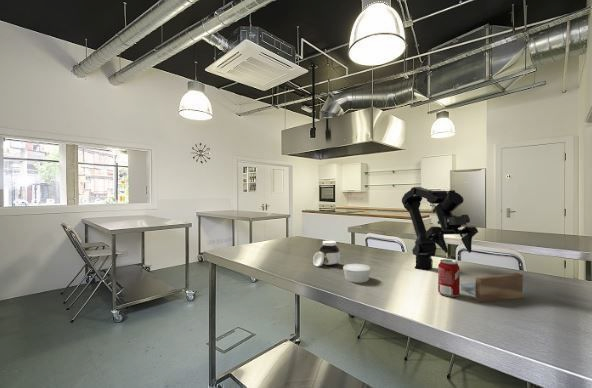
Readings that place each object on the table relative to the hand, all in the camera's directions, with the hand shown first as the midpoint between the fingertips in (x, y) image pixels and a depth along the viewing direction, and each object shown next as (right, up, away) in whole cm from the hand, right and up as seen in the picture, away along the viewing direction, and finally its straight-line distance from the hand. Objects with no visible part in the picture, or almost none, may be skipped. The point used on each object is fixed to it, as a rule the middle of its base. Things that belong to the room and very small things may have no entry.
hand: (458, 252), depth 105 cm
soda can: (-8, -14, -7) cm, 17 cm away
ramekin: (-37, -14, +10) cm, 41 cm away
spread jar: (-48, -13, +31) cm, 58 cm away
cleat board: (+6, -14, -6) cm, 16 cm away
